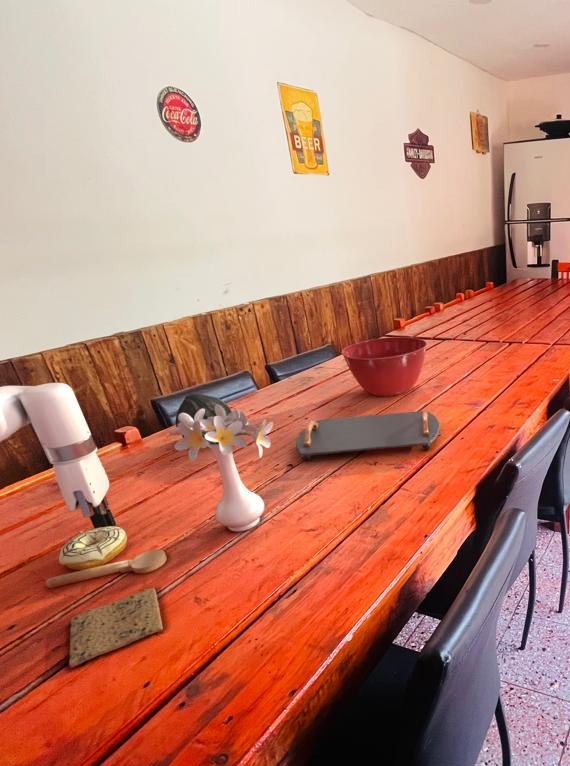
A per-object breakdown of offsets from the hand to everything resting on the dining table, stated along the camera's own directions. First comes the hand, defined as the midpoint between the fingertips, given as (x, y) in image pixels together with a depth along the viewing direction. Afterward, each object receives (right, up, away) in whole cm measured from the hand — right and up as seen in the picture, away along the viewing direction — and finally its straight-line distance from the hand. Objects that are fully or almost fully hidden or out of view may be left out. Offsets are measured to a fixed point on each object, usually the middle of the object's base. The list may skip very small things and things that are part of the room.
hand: (106, 528), depth 104 cm
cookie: (+19, -12, -24) cm, 32 cm away
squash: (-1, +19, +42) cm, 47 cm away
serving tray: (+46, +19, +36) cm, 62 cm away
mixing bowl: (+45, +37, +73) cm, 93 cm away
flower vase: (+28, +1, +2) cm, 28 cm away
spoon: (+9, -6, -11) cm, 16 cm away
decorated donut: (+3, -4, -6) cm, 8 cm away
